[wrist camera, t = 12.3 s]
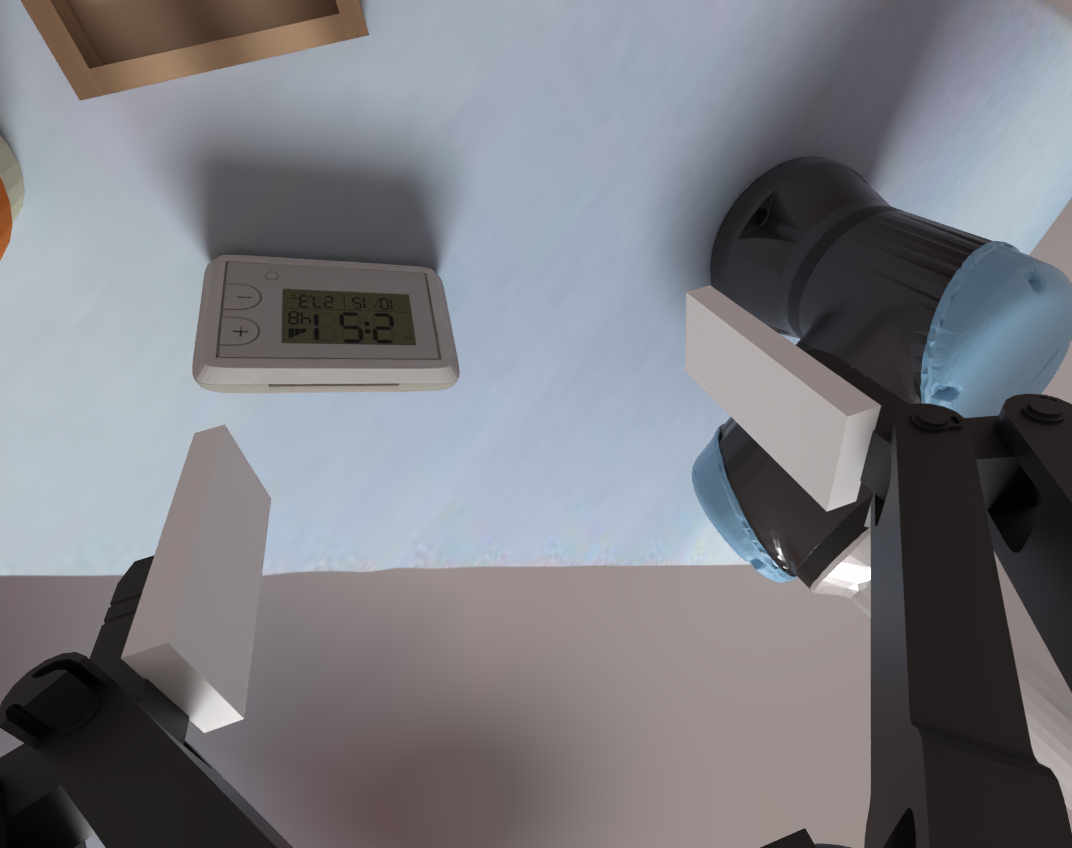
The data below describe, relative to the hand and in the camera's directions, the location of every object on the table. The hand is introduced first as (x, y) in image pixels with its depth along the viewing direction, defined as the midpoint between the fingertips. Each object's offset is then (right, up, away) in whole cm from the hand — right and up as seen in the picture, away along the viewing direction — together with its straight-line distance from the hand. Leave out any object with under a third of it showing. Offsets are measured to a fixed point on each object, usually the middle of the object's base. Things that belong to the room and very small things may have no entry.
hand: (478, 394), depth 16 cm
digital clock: (-14, +9, +27) cm, 32 cm away
